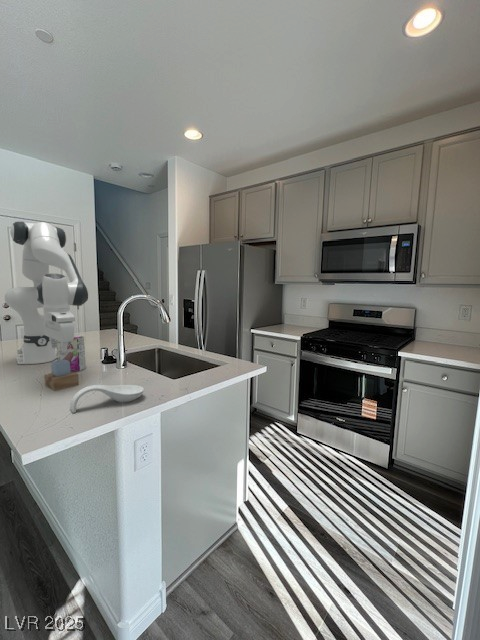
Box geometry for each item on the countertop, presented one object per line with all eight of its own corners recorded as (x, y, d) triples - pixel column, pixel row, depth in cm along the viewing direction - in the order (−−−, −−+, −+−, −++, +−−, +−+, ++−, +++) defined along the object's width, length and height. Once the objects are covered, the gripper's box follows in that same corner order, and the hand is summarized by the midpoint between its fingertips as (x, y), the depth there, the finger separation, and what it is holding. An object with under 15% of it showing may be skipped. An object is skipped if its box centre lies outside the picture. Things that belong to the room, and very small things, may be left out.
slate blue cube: (52, 374, 119) (51, 361, 118) (65, 371, 123) (64, 359, 122) (56, 376, 116) (55, 364, 115) (70, 373, 120) (69, 361, 119)
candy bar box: (57, 370, 139) (55, 336, 137) (64, 367, 144) (62, 334, 142) (79, 371, 138) (77, 337, 136) (86, 368, 143) (84, 335, 141)
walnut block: (45, 386, 119) (44, 374, 118) (69, 381, 126) (68, 369, 125) (54, 391, 113) (53, 379, 113) (78, 385, 120) (78, 373, 120)
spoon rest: (137, 391, 115) (136, 373, 114) (149, 400, 106) (148, 381, 105) (68, 406, 100) (66, 386, 99) (75, 419, 91) (73, 396, 90)
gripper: (38, 313, 120) (40, 346, 122) (58, 318, 107) (60, 355, 109) (55, 312, 125) (57, 344, 127) (76, 317, 112) (78, 352, 114)
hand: (59, 349), depth 118 cm, fingers open, 8 cm apart
